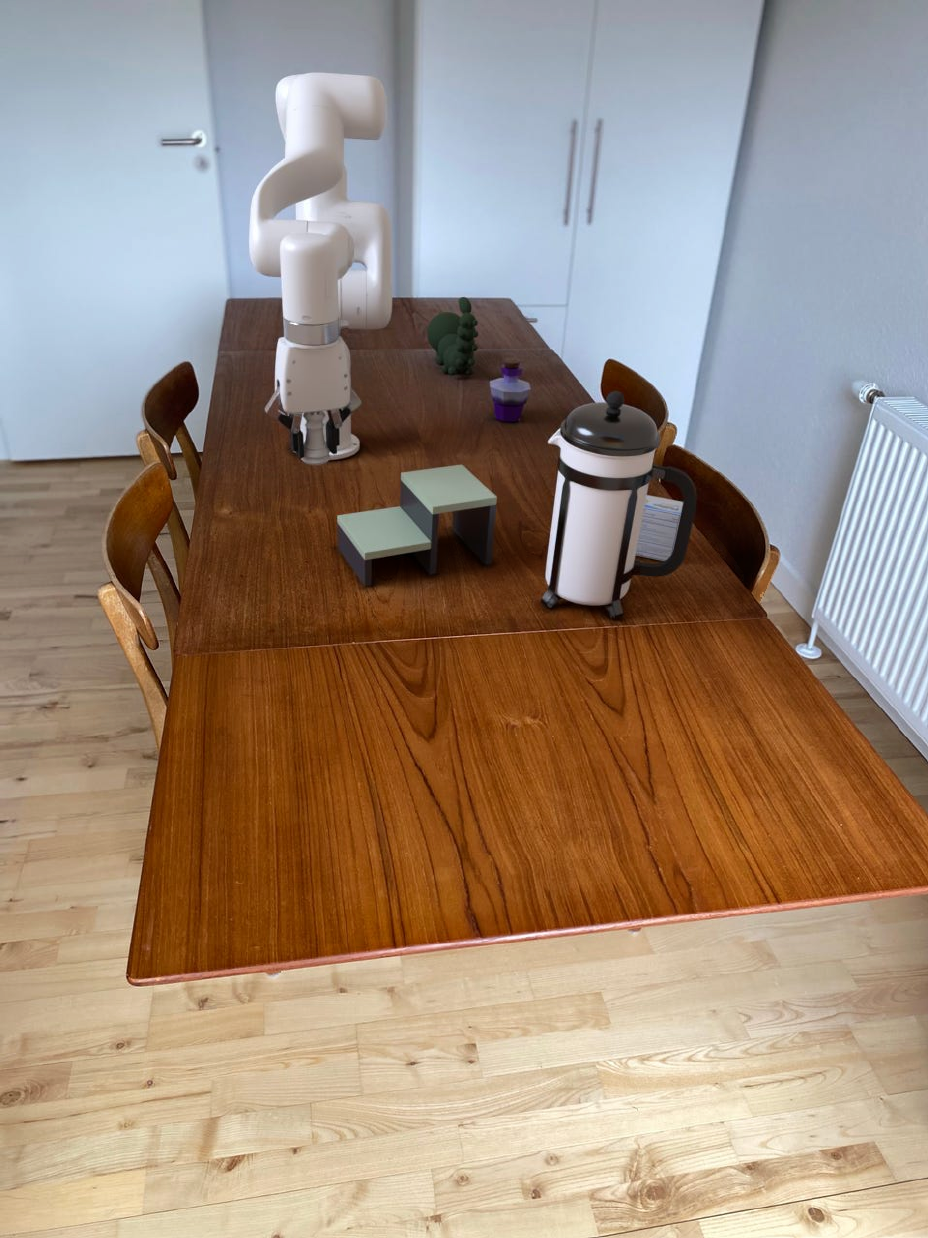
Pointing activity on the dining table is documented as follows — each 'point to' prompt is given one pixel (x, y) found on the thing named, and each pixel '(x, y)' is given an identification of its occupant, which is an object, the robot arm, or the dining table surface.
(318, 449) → the rook chess piece
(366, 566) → the rack
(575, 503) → the coffee press
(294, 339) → the robot arm
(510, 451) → the dining table surface
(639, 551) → the medicine box
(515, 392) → the potion bottle
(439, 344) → the toy figurine
